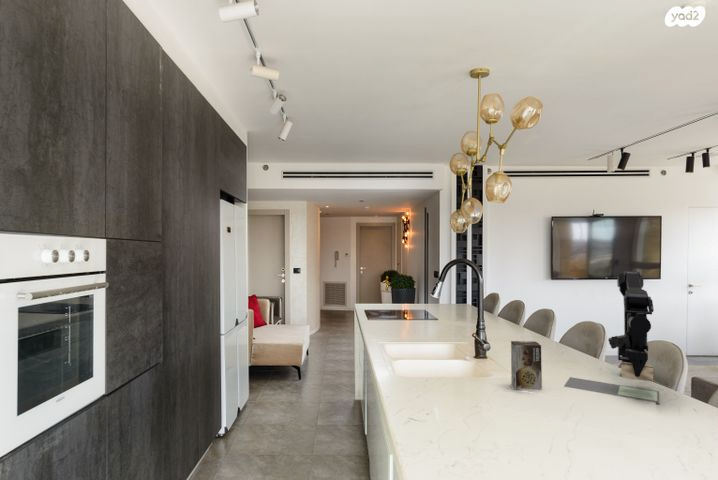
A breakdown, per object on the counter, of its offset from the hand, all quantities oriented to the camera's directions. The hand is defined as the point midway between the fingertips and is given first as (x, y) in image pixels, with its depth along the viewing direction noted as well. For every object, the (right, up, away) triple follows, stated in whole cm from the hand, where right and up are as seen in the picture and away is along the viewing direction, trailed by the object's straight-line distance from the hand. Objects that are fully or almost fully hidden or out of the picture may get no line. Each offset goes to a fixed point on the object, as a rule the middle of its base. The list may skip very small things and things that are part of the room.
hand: (637, 374), depth 145 cm
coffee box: (-36, -7, +6) cm, 37 cm away
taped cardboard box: (0, -1, 0) cm, 1 cm away
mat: (-7, -7, +4) cm, 10 cm away
